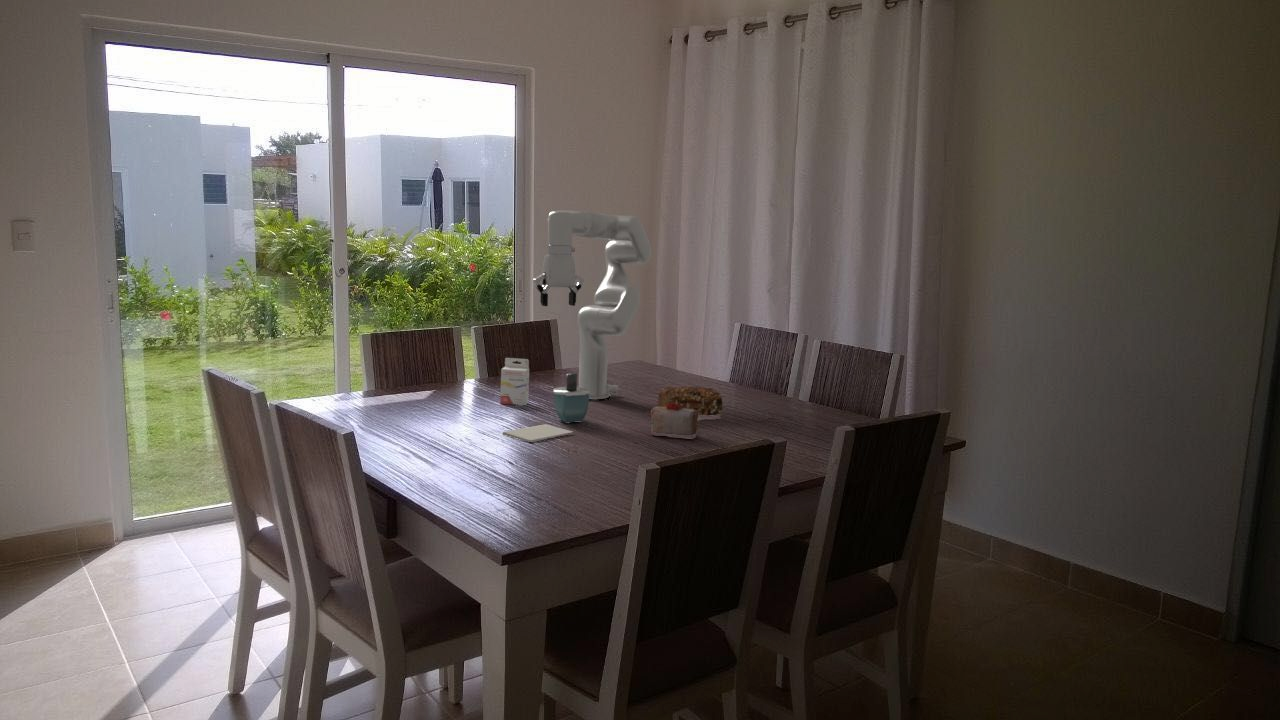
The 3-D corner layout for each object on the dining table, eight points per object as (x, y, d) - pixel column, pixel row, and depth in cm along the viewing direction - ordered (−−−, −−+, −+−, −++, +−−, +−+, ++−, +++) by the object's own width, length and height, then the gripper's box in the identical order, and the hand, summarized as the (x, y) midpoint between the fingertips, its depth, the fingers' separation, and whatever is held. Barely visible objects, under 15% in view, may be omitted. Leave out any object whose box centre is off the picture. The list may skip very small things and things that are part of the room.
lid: (576, 388, 288) (576, 369, 287) (596, 394, 280) (597, 375, 279) (546, 391, 282) (546, 372, 281) (566, 397, 273) (566, 378, 272)
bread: (665, 422, 287) (666, 390, 286) (656, 414, 297) (658, 383, 296) (722, 421, 292) (724, 390, 290) (712, 413, 302) (713, 383, 300)
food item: (646, 436, 267) (648, 403, 266) (654, 430, 275) (655, 398, 273) (692, 442, 264) (694, 408, 262) (699, 435, 271) (700, 402, 269)
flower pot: (551, 419, 284) (552, 390, 283) (578, 417, 288) (579, 389, 286) (561, 425, 276) (562, 396, 275) (589, 424, 280) (590, 394, 278)
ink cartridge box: (499, 404, 302) (500, 359, 300) (503, 401, 307) (504, 357, 305) (525, 405, 302) (526, 361, 299) (528, 402, 306) (529, 358, 304)
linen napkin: (545, 426, 274) (545, 424, 274) (573, 434, 266) (573, 431, 266) (502, 434, 263) (502, 431, 262) (530, 443, 255) (530, 440, 254)
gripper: (578, 250, 299) (576, 303, 301) (529, 250, 290) (528, 304, 292) (589, 252, 292) (588, 306, 295) (539, 251, 283) (538, 307, 286)
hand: (558, 305), depth 294 cm, fingers open, 9 cm apart
